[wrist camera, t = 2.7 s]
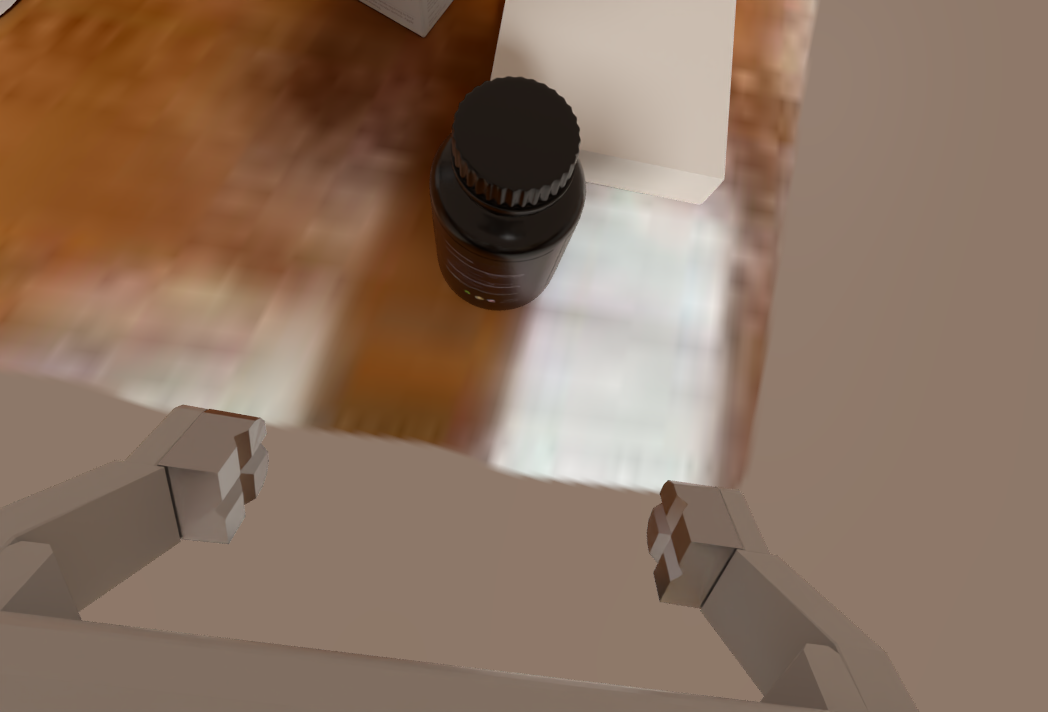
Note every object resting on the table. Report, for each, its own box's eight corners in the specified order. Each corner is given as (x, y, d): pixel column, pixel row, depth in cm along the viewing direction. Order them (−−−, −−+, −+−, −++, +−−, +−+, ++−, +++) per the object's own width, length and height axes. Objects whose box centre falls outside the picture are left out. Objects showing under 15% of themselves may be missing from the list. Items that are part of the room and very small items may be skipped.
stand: (478, 159, 32) (481, 128, 30) (513, -27, 36) (518, -71, 33) (701, 205, 34) (724, 179, 31) (715, 21, 37) (737, -18, 34)
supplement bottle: (458, 188, 32) (460, 23, 20) (567, 226, 32) (631, 84, 21) (419, 292, 30) (396, 178, 19) (534, 331, 31) (583, 242, 19)
